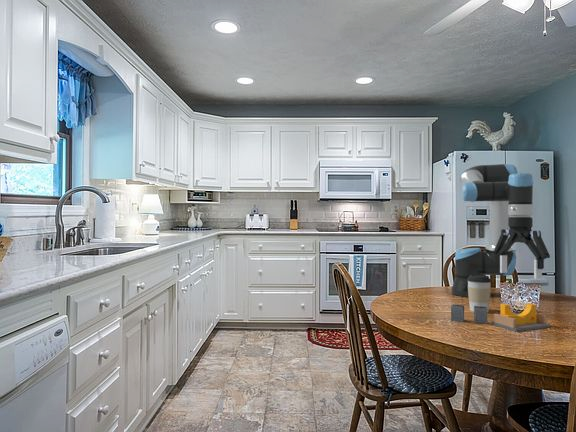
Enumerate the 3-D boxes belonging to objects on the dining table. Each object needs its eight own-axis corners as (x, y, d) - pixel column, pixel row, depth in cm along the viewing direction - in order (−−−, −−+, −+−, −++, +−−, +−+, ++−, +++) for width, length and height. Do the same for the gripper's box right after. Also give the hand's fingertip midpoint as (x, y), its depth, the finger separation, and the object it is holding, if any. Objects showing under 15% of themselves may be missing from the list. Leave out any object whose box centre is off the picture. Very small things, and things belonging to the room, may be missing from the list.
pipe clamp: (508, 324, 137) (508, 306, 137) (500, 321, 141) (500, 303, 141) (540, 324, 138) (540, 306, 138) (531, 320, 142) (531, 303, 142)
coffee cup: (490, 314, 155) (490, 277, 155) (465, 311, 160) (465, 275, 160) (492, 310, 163) (492, 274, 163) (468, 307, 167) (468, 272, 167)
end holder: (523, 320, 147) (523, 309, 147) (549, 327, 137) (549, 315, 137) (491, 324, 141) (491, 313, 141) (516, 331, 132) (516, 319, 132)
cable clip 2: (475, 322, 142) (475, 307, 142) (474, 320, 145) (474, 305, 145) (487, 324, 141) (487, 308, 141) (485, 321, 144) (486, 306, 144)
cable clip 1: (451, 320, 146) (451, 305, 146) (452, 318, 148) (452, 304, 148) (462, 322, 143) (462, 307, 143) (464, 320, 146) (464, 305, 146)
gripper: (483, 216, 150) (483, 271, 150) (546, 216, 126) (546, 281, 126) (498, 216, 152) (498, 270, 152) (562, 216, 129) (562, 280, 129)
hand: (520, 275), depth 139 cm, fingers open, 13 cm apart
